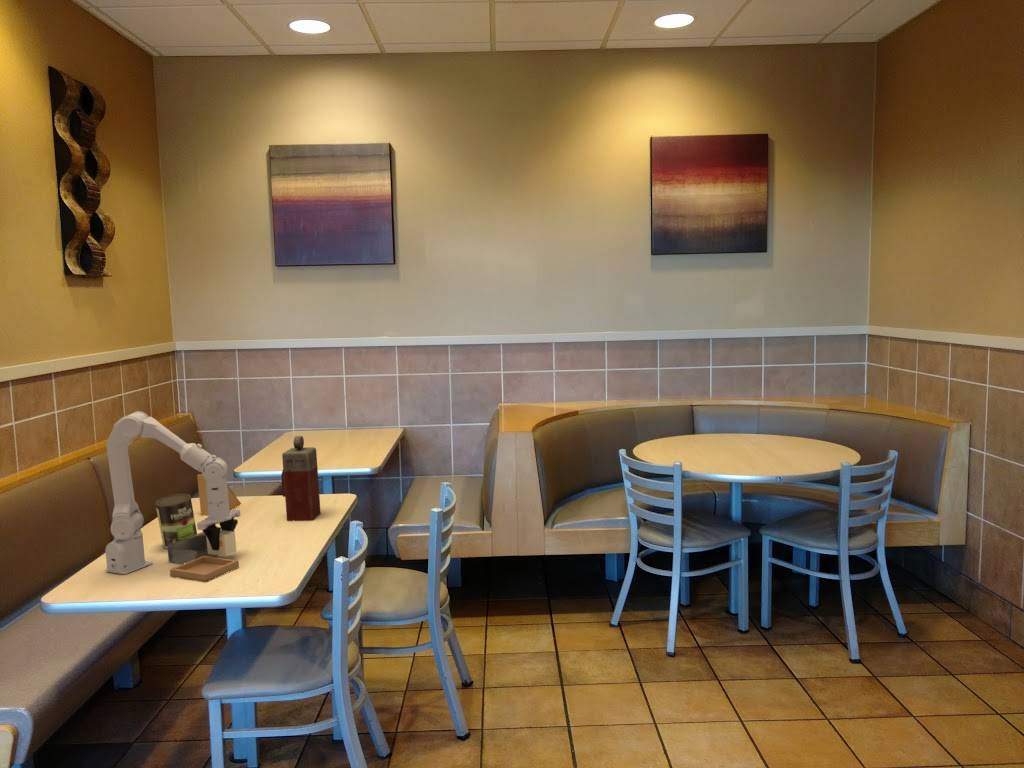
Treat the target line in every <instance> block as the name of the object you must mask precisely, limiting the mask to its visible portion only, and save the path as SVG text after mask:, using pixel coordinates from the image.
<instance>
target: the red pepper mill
mask: <svg viewBox="0 0 1024 768" xmlns="http://www.w3.org/2000/svg"><path fill="white" fill-rule="evenodd" d="M292 441H293V447H292V448H288V449H287V450H286V451H284V452H282V454H281V460H282V471H281V475H280V476H281V477H280V478H281V487H282V488H281V490H282V497H283V498H285V512H286V515H285V516H286V521H287V522H303V521H304V522H305V521H306V522H307V521H311V522H312V521H314V520H315V519H316V518H318V516H319V515H321V514H322V513H321V501H320V500H321V499H320V489H319V488H320V485H319V472H318V471H319V467H318V457H317V448H316V447H314V446H313V447H312V446H311V447H304V445H305V439H304V437H303V436H302V435H298V436H297V435H295V436H294V437H293V440H292ZM293 520H294V521H293Z"/></svg>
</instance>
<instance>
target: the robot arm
mask: <svg viewBox="0 0 1024 768" xmlns="http://www.w3.org/2000/svg"><path fill="white" fill-rule="evenodd" d="M138 436H139V437H140V438H141V439H146V438H147V439H149V438H150V439H155V440H157V441H158V442H160V443H162V444H163V445H166V446H167V447H169V448H170V449H172V450H174V451H176V452H177V453H179V456H180V460H181V461H183V462H184V463H186V465H188V466H190V467H192V468H193V469H194V470H196V471H198V472H199V473H201V474H202V475H203V477H204V479H205V480H206V492H207V504H208V516H206V518H204V519H202V520H201V521H198V522H196V523H197V524H196V529H197V530H198V531H199V530H200V531H201V532H204V533H205V535H206V536H207V538H208V540H209V542H210V545H211V548H212V550H219V536H220V530H225V531H233V532H235V529H236V527H237V526H238V523H239V522H238V521H239V520H238V519H235V518H239V517H241V510H240V509H233V510H232V511H229V500H228V488H227V485H228V483H227V482H228V481H227V480H228V479H227V475H226V474H227V472H228V468H229V467H228V464H227V462H226V461H225V460H224V459H223V458H222V457H217V455H215V454H211V453H210V452H208V451H207V450H205V449H204V448H203V445H202V444H201V443H197V444H196V443H195V442H192V443H191V442H190V443H187V442H186V441H185V440H183V439H182V438H180V437H179V436H178V435H176V434H175V433H173V431H170V429H168V428H167V427H166V426H165V425H163V424H161V423H160V422H159V421H158V420H156V418H154V417H152V416H149V415H148V414H147V413H146V412H144V411H139V410H138V411H134V412H132V413H130V414H128V415H125V416H123V417H121V418H120V419H118V421H116V422H115V423H114V424H113V428H112V430H111V432H110V435H109V436H108V438H107V441H106V442H105V443H106V444H105V445H106V452H107V459H108V465H109V466H108V467H109V474H110V482H111V488H112V489H111V490H112V495H113V496H112V497H113V503H114V508H113V512H112V516H111V517H112V522H111V525H110V533H111V535H112V536H113V537H114V539H113V541H111V542H109V543H107V545H106V546H105V550H104V551H105V559H106V560H105V561H106V569H105V572H107V573H114V574H120V575H127V574H129V573H132V572H134V571H137V570H141V569H143V568H145V567H148V566H150V565H152V564H153V562H152V561H149V560H148V561H147V560H146V556H145V547H144V535H143V531H142V530H141V528H142V527H143V525H144V521H145V519H144V516H143V513H142V512H141V511H140V508H139V504H138V502H136V500H135V493H134V486H133V485H134V484H133V478H132V470H131V465H130V464H131V463H130V457H129V448H128V447H129V446H130V444H132V442H133V441H135V439H136V438H137V437H138ZM218 524H219V527H218Z"/></svg>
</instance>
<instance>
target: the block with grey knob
mask: <svg viewBox="0 0 1024 768" xmlns="http://www.w3.org/2000/svg"><path fill="white" fill-rule="evenodd" d="M206 538H207V536H206ZM236 542H237V541H236V532H235V531H234V532H233V531H225V530H220V536H219V550H212V548H211V545H210V542H209V540H208V538H207V550H208V554H214V555H220V556H222V557H228V556H230V555H232V554H235V553H236V552H237V543H236Z"/></svg>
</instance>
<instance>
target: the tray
mask: <svg viewBox="0 0 1024 768" xmlns="http://www.w3.org/2000/svg"><path fill="white" fill-rule="evenodd" d="M237 567H239V568H240V565H239V560H237V559H230V558H222V557H210V556H202V557H199V558H197V559H194V560H192V561H190V562H187V563H185V564H179V565H177V566H175V567H173V568H170V569H169V575H170V576H172V577H171V578H176V577H179V578H178V579H183V578H184V579H185V580H189V579H190V581H195V580H197V582H203V583H207V582H209V580H210V581H212V580H214V579H216V578H219V577H221V576H223V575H225V574H227V573H226V572H228V571H230V572H232V571H234V570H236V569H235V568H237ZM233 569H234V570H233ZM237 569H238V568H237ZM231 570H232V571H231ZM224 573H225V574H224ZM228 573H229V572H228ZM222 574H223V575H222ZM220 575H221V576H220ZM218 576H219V577H218ZM215 577H216V578H215Z"/></svg>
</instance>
